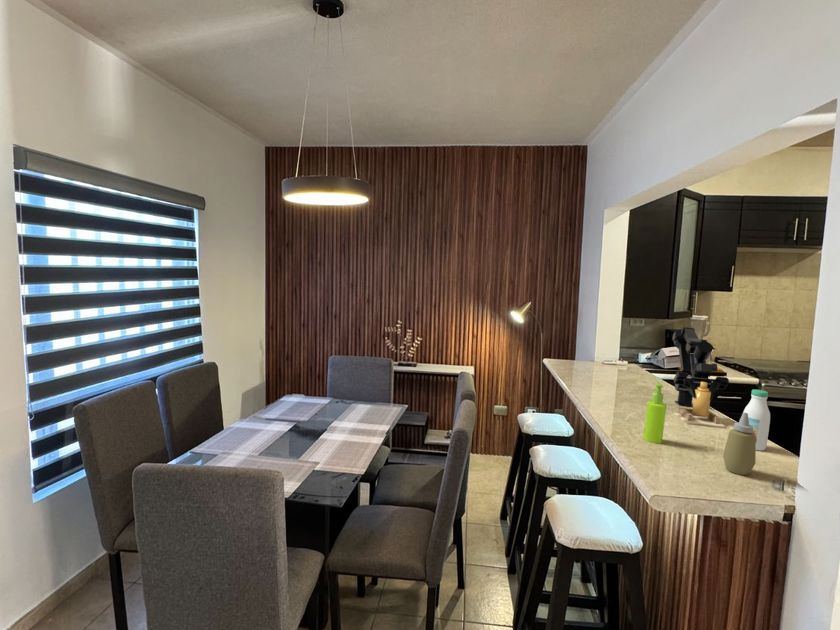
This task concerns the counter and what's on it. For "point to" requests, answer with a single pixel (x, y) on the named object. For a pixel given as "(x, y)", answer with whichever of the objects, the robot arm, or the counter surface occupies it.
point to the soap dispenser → (655, 417)
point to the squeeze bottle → (740, 447)
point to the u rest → (699, 418)
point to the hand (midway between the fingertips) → (703, 398)
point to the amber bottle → (701, 400)
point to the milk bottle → (759, 417)
